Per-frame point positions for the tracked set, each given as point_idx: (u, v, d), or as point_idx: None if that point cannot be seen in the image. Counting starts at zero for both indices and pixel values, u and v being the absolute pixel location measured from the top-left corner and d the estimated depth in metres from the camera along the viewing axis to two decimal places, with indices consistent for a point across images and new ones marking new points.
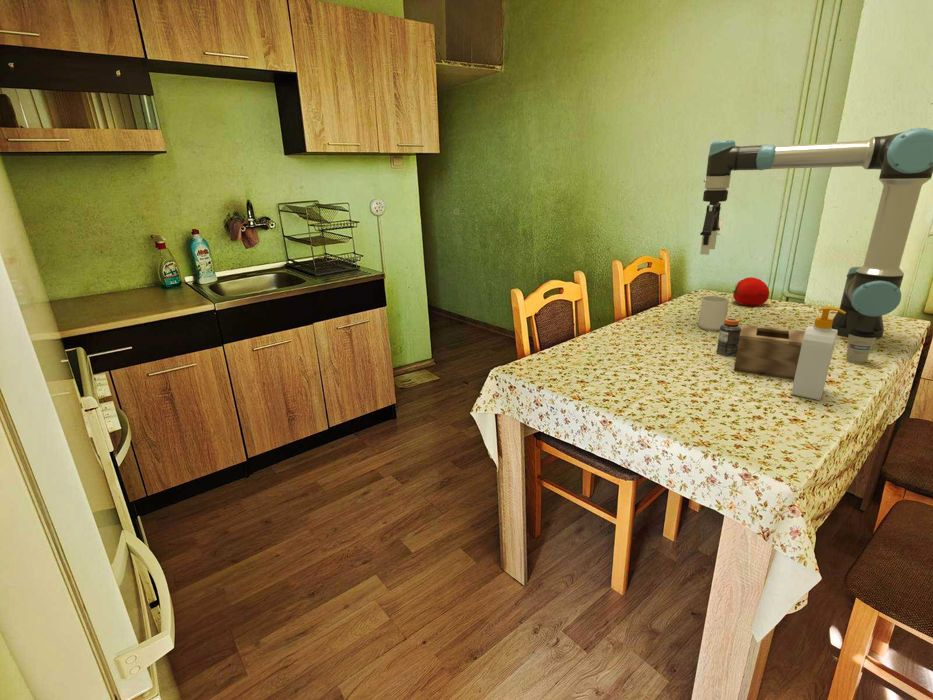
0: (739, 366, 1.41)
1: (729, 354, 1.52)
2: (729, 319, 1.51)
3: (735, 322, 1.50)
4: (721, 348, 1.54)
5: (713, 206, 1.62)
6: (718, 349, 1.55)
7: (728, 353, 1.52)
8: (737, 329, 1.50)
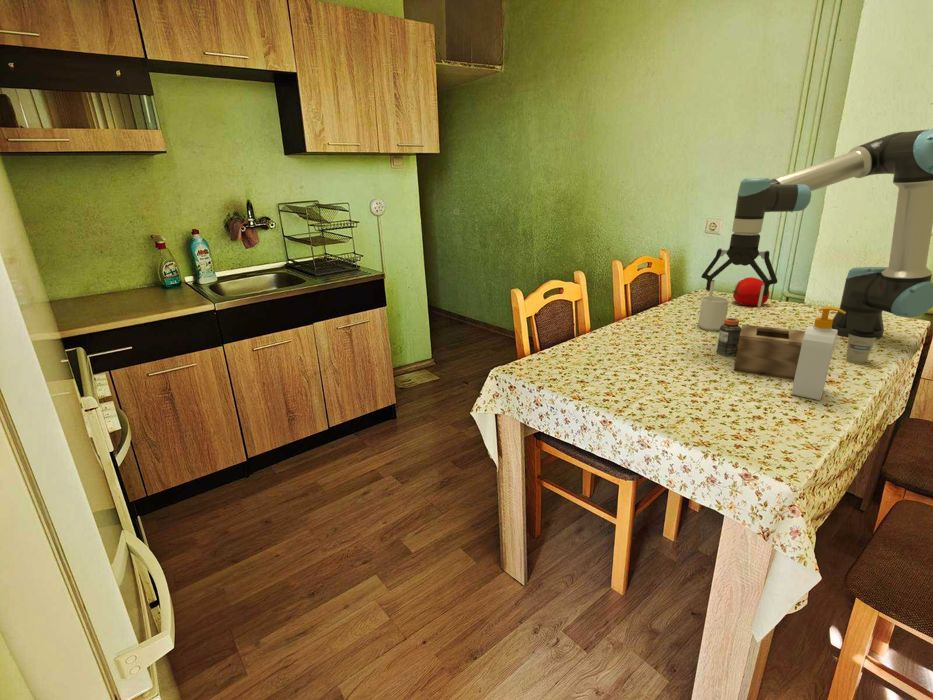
0: (739, 366, 1.41)
1: (729, 354, 1.52)
2: (729, 319, 1.51)
3: (735, 322, 1.50)
4: (721, 348, 1.54)
5: (717, 250, 1.47)
6: (718, 349, 1.55)
7: (728, 353, 1.52)
8: (737, 329, 1.50)
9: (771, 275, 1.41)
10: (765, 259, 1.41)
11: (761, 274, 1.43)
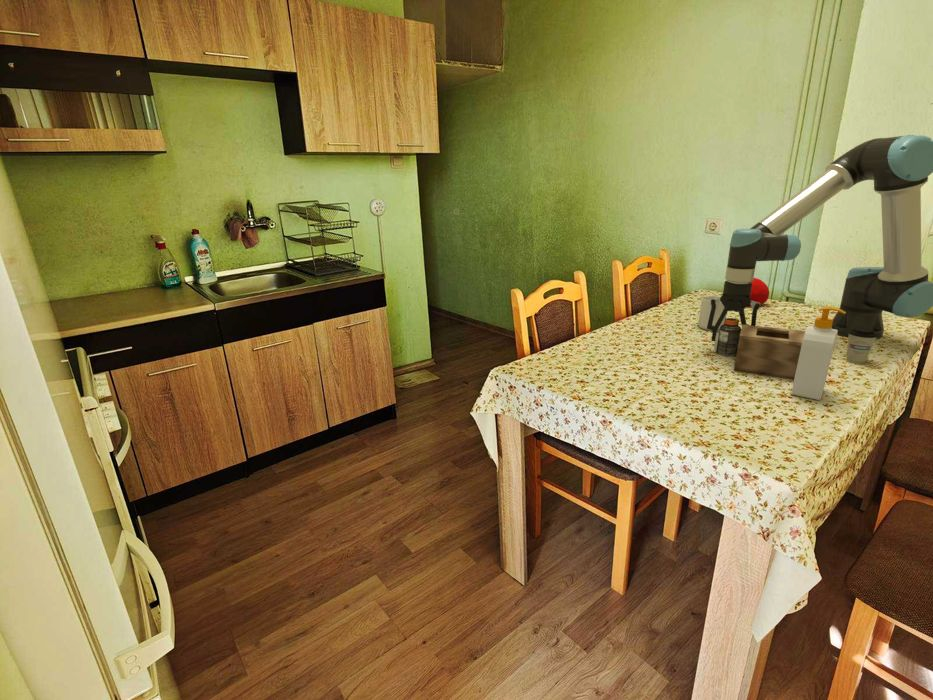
0: (739, 366, 1.41)
1: (729, 354, 1.52)
2: (729, 319, 1.51)
3: (735, 322, 1.50)
4: (721, 348, 1.54)
5: (711, 300, 1.52)
6: (718, 349, 1.55)
7: (728, 353, 1.52)
8: (737, 329, 1.50)
9: None
10: (753, 310, 1.46)
11: (744, 324, 1.49)
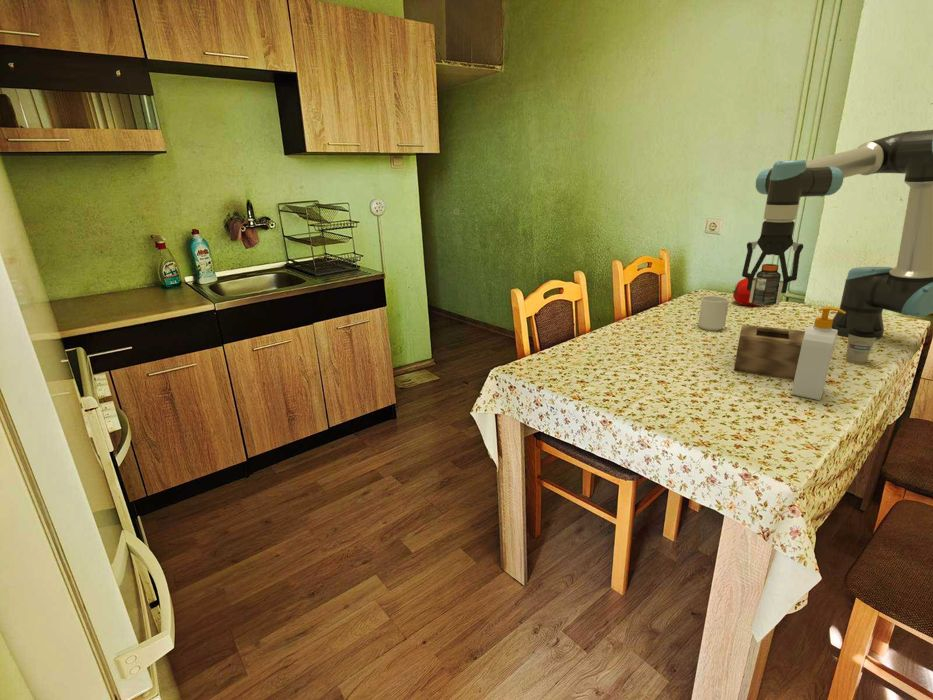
0: (739, 366, 1.41)
1: (767, 304, 1.38)
2: (767, 264, 1.36)
3: (774, 267, 1.35)
4: (757, 297, 1.39)
5: (747, 244, 1.37)
6: (754, 299, 1.40)
7: (765, 303, 1.37)
8: (776, 275, 1.35)
9: (794, 270, 1.33)
10: (796, 252, 1.31)
11: (784, 269, 1.34)
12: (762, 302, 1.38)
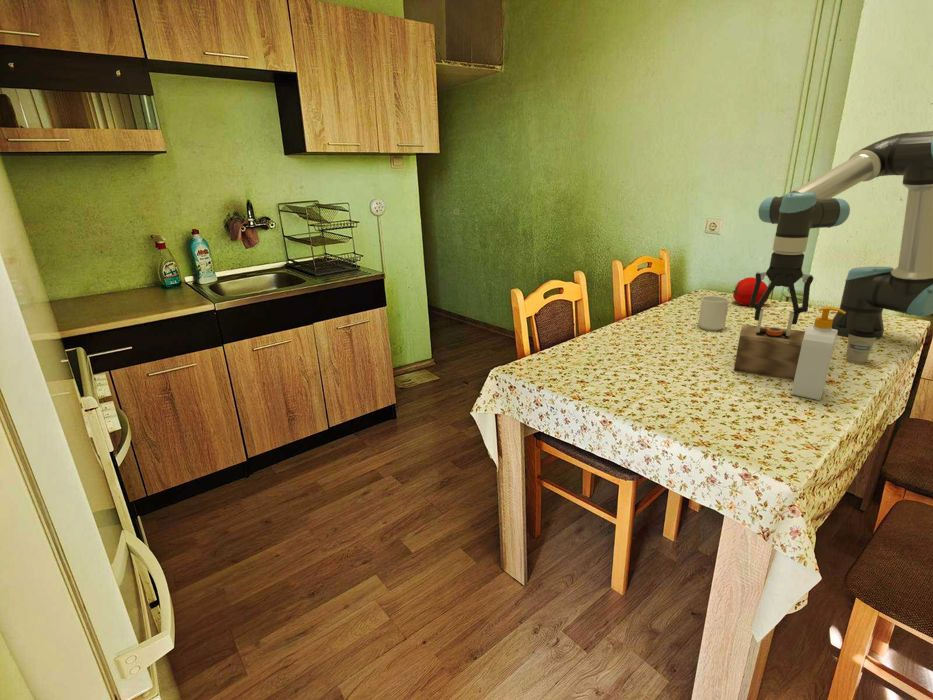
0: (739, 366, 1.41)
1: None
2: (772, 329, 1.38)
3: (779, 332, 1.36)
4: None
5: None
6: None
7: None
8: None
9: (804, 302, 1.32)
10: (806, 284, 1.30)
11: (795, 300, 1.33)
12: None
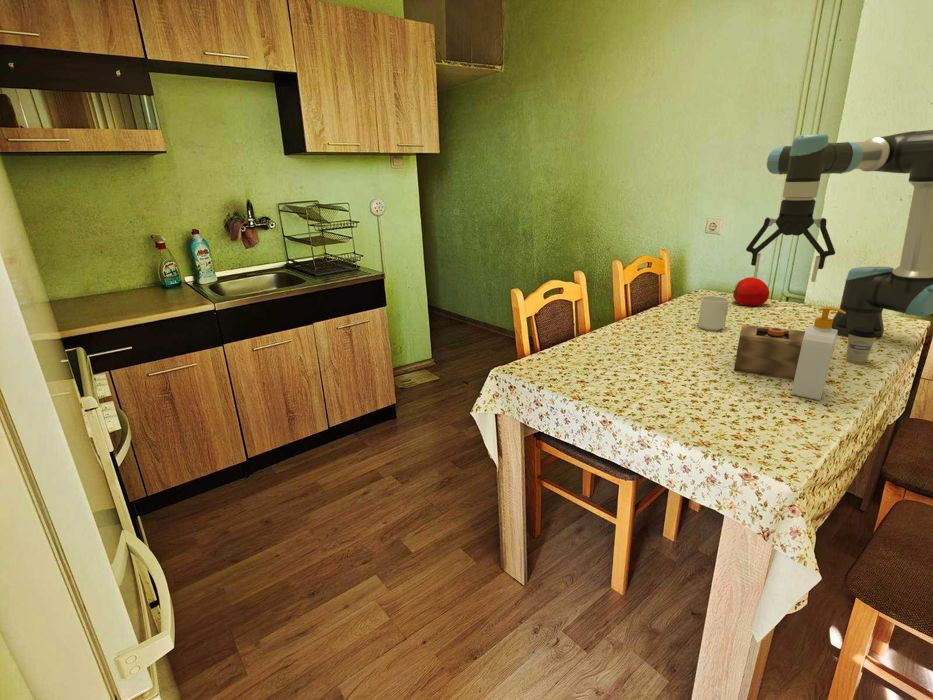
0: (739, 366, 1.41)
1: None
2: (773, 329, 1.38)
3: (780, 333, 1.37)
4: None
5: (765, 219, 1.31)
6: None
7: None
8: None
9: (828, 245, 1.25)
10: (821, 227, 1.25)
11: (816, 244, 1.26)
12: None
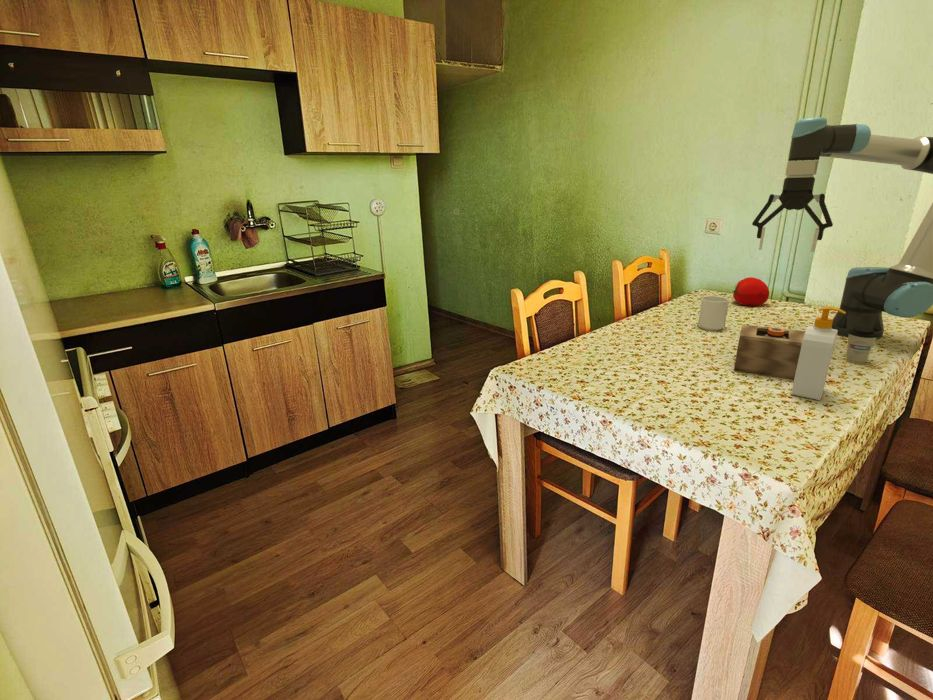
0: (739, 366, 1.41)
1: None
2: (773, 329, 1.38)
3: (780, 333, 1.37)
4: None
5: None
6: None
7: None
8: None
9: (826, 218, 1.39)
10: (820, 202, 1.39)
11: (816, 218, 1.41)
12: None
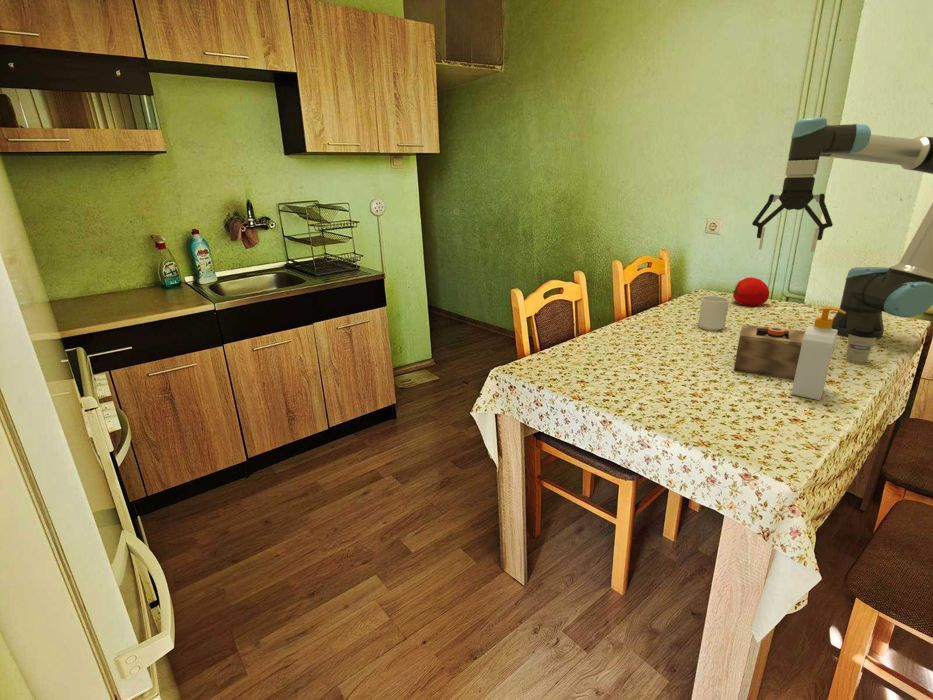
0: (739, 366, 1.41)
1: None
2: (773, 329, 1.38)
3: (780, 332, 1.37)
4: None
5: None
6: None
7: None
8: None
9: (826, 218, 1.39)
10: (820, 202, 1.39)
11: (816, 218, 1.41)
12: None
